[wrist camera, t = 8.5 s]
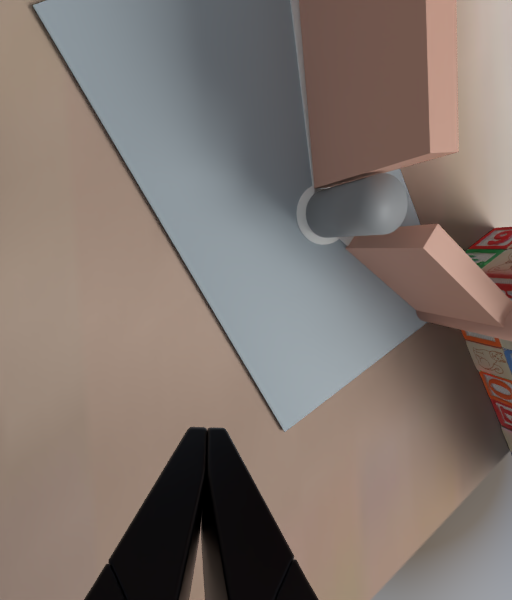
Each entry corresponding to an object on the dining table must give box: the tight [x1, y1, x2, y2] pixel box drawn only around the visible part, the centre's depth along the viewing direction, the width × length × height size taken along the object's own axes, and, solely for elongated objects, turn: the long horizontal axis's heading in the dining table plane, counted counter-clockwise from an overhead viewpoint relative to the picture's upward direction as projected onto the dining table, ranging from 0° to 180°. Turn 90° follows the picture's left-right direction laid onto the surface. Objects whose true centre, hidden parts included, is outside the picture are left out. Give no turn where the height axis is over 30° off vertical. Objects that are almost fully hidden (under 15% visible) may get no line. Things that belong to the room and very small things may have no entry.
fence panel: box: [299, 0, 459, 238], centre depth 17 cm, size 16×3×9 cm, turn 7°
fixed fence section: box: [345, 224, 512, 341], centre depth 22 cm, size 9×2×7 cm, turn 54°
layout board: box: [33, 0, 427, 432], centre depth 22 cm, size 15×25×1 cm, turn 29°
